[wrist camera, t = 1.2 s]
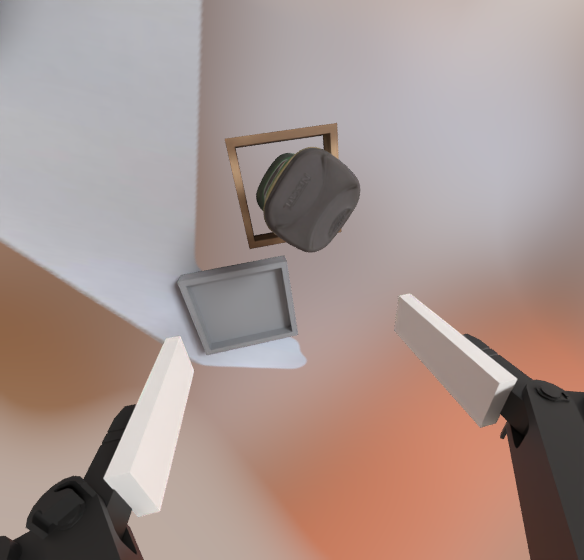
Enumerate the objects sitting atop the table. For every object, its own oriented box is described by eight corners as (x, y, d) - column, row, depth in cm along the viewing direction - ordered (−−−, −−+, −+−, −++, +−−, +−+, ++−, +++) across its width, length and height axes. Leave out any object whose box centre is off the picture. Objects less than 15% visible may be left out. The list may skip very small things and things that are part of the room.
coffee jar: (289, 227, 41) (319, 271, 24) (248, 200, 38) (251, 230, 21) (323, 176, 38) (383, 187, 22) (282, 143, 35) (315, 125, 18)
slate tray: (181, 275, 41) (177, 282, 38) (284, 255, 43) (286, 261, 40) (208, 345, 48) (206, 355, 46) (295, 326, 50) (298, 334, 47)
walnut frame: (226, 141, 34) (224, 138, 30) (329, 126, 35) (337, 123, 32) (249, 242, 40) (249, 248, 37) (334, 226, 42) (341, 232, 39)
